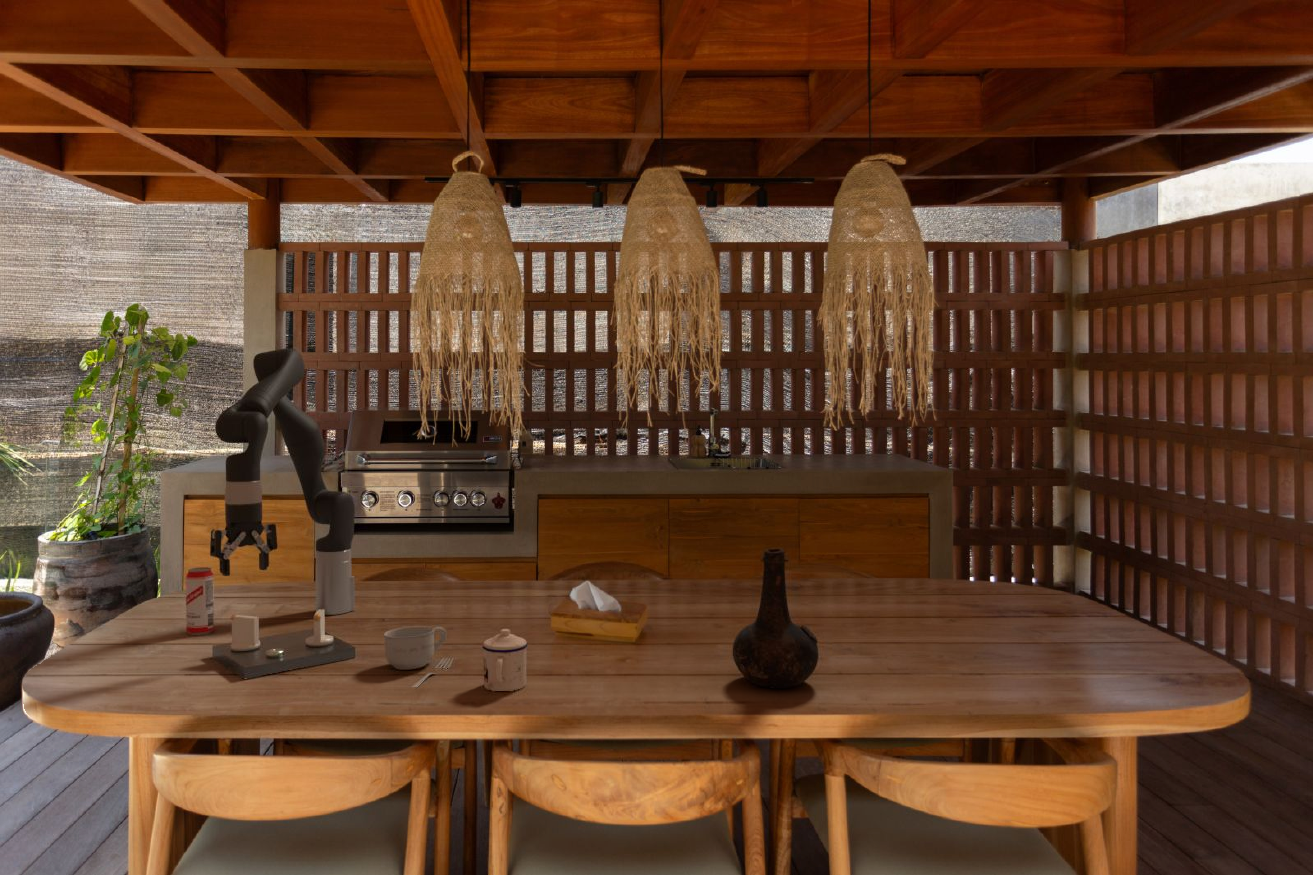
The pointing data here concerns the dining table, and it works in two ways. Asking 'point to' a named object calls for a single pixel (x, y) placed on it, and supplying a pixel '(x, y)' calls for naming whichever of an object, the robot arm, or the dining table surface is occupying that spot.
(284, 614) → the dining table surface
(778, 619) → the glass bottle
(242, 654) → the levelling base
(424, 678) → the fork
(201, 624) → the beer can
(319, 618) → the knob
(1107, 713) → the dining table surface
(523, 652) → the teacup with lid
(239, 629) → the knob
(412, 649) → the teacup
